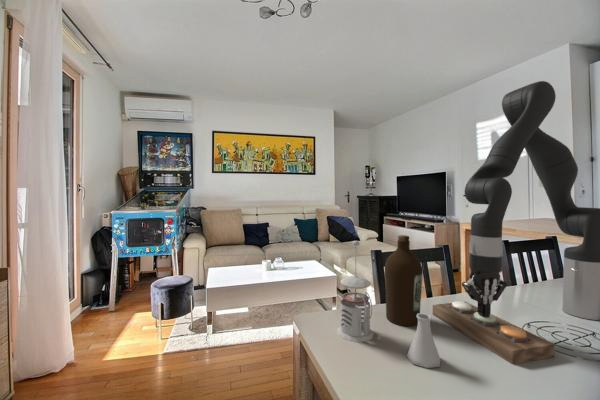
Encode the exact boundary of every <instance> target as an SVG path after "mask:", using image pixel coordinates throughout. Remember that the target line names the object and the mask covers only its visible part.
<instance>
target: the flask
mask: <svg viewBox="0 0 600 400" xmlns="http://www.w3.org/2000/svg"><path fill="white" fill-rule="evenodd" d="M417 318H418V324H417V325H416V326H417V327H416V331H415V333H414V337H413V339H412V341H411V344H410V346H409V349H408V352H407V355H406V358H407V359H408V360H409V361H410V362H411V363H412V365H416V366H420V367H422V368H426V369H431V368H440V367H441V357H440V354H439V352H438V351H439V350H438V348H437V347H436V344H435V339H434V337H433V334H432V327H431V322H432V319H433V318H432V316H431V315H429V314H428V313H424V312H422V313H421V312H420V313H419V314H417Z"/></svg>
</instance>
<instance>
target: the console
mask: <svg viewBox="0 0 600 400" xmlns="http://www.w3.org/2000/svg"><path fill="white" fill-rule="evenodd" d="M464 302H465V303H468V304H470V305H471V306H472V309H473V313H465V314H460V313H458V312H457V311H455V310H453V309H451V305H452V302H446V303H438V304H432V315H433V316H434V317H436V318H437V319H438V320H439V319H440V320H441V321H443V322H444V323H445V324H448V325H449V326H450V327H452V328H453V329H455V330H456V331H458V332H460V333H462V334H464V335H465V336H467V337H468V338H469V339H471V340H473V341H475V342H476V343H478V344H480V345H481V346H482V347H484V348H486V349H487V350H488V351H490V352H492V353H494V354H496V355H497V356H498V357H501V358H502V359H503V360H505V361H506V362H508V363H510V364H512V365H517V364H522V363H528V362H533V361H539V360H545V359H552V358H555V352H556V351H555V350H556V349H555V343H553V342H550V341H549V340H546V339H544V338H542V337H540V336H538V335H536V334H534V333H532V332H530V331H527V330H526V329H524V328H523V327H520V326H517V325H515V324H513V323H511V322H510V321H509V322H508V321H507V320H506V319H503V318H500V317H498V316H497V315H495V314H492V313H490V314H491V315H493V316H495V317H496V321H497V322H498V323H497V326H489V327H484V326H482V325H480V324H479V323H477V322H475V321H473V320H472V319H473V316H474V313H476V312H477V310H478V306H477V305H473V304H472V303H470V302H467V301H464ZM504 325H508V326H514V327H517V328H520V329H522V330H524V331H525V332H526V336H528V341H525V342H518V343H514V342H512V341H510V340H508V339H506V338H504V337H503V336H501V335H499V330H501V326H504Z"/></svg>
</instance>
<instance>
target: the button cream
mask: <svg viewBox="0 0 600 400" xmlns="http://www.w3.org/2000/svg"><path fill="white" fill-rule="evenodd" d="M465 302H466V301H459V300H458V301H457V300H456V301H452V302H451V303H452V305H451V309H453V310H455V311H457V312H458V313H460V314H465V313H473V309H472V306H471V305H470V304H471V303H469V302H467V303H465ZM468 303H469V304H468Z"/></svg>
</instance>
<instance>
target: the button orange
mask: <svg viewBox="0 0 600 400" xmlns="http://www.w3.org/2000/svg"><path fill="white" fill-rule="evenodd" d="M520 328H521V327H520ZM520 328H517V327H514V326H508V325H504V326H501V330H499V335H501V336H503V337H504V338H506V339H508V340H510V341H512V342H514V343H518V342H525V341H528V336H526V332H525V331H524V330H525V329H524V330H522V329H523V328H522V329H520Z"/></svg>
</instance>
